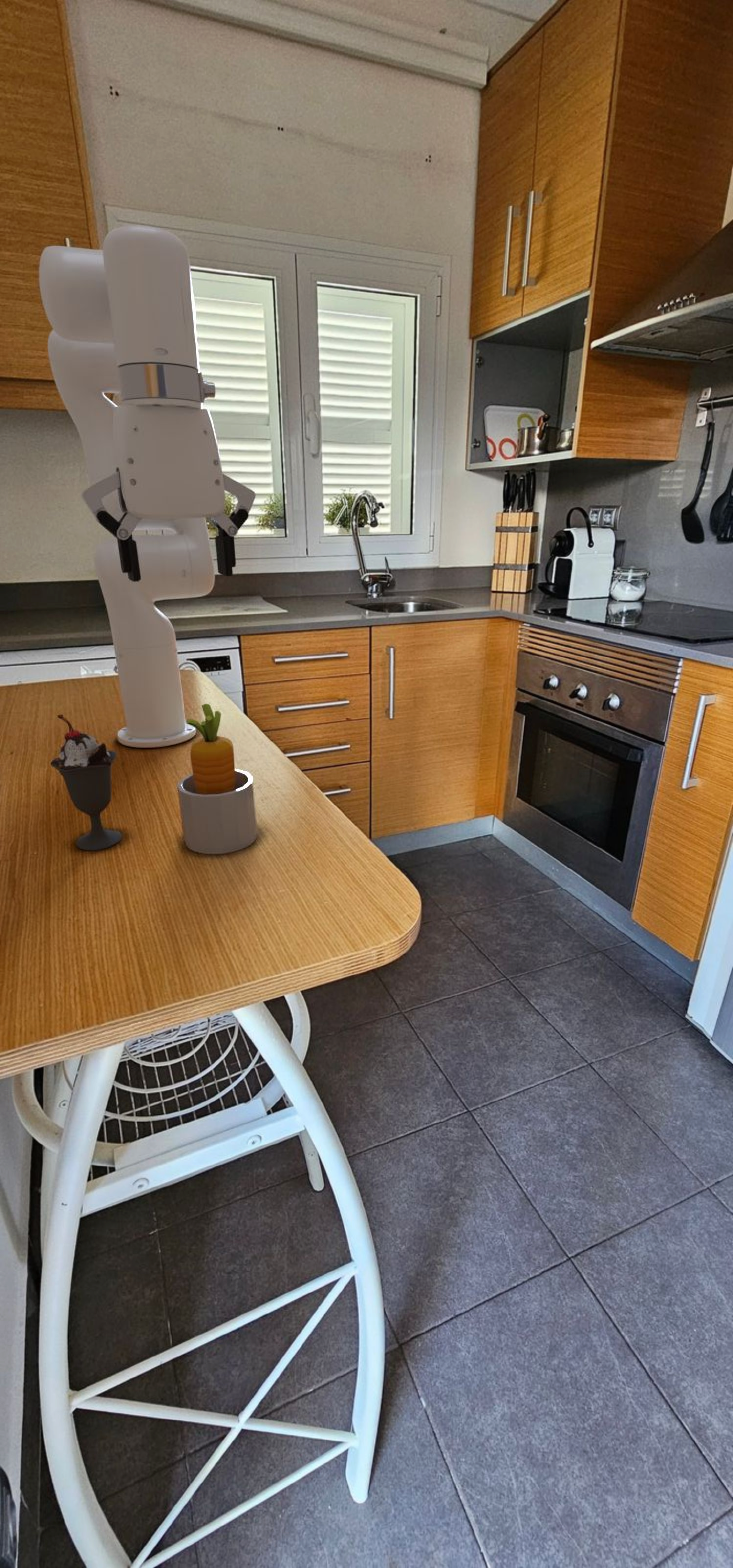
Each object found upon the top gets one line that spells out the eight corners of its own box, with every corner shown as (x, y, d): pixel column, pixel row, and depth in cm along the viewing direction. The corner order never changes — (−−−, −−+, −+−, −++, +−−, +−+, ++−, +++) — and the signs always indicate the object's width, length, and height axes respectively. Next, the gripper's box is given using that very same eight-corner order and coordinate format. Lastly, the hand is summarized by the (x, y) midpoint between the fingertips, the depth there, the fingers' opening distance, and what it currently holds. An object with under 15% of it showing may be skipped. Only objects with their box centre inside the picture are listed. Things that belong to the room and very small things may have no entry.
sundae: (66, 834, 79) (42, 711, 74) (126, 824, 82) (107, 703, 76) (68, 859, 74) (41, 727, 68) (132, 847, 76) (111, 719, 71)
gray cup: (177, 831, 80) (169, 776, 77) (243, 817, 83) (239, 763, 81) (195, 861, 73) (188, 801, 70) (267, 843, 77) (263, 786, 74)
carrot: (232, 844, 75) (220, 714, 70) (191, 840, 76) (175, 712, 71) (248, 825, 80) (238, 701, 74) (209, 822, 81) (195, 699, 75)
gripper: (235, 402, 72) (247, 570, 79) (60, 392, 64) (90, 579, 71) (260, 393, 66) (270, 576, 73) (69, 381, 58) (101, 586, 65)
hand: (181, 577), depth 72 cm, fingers open, 9 cm apart
